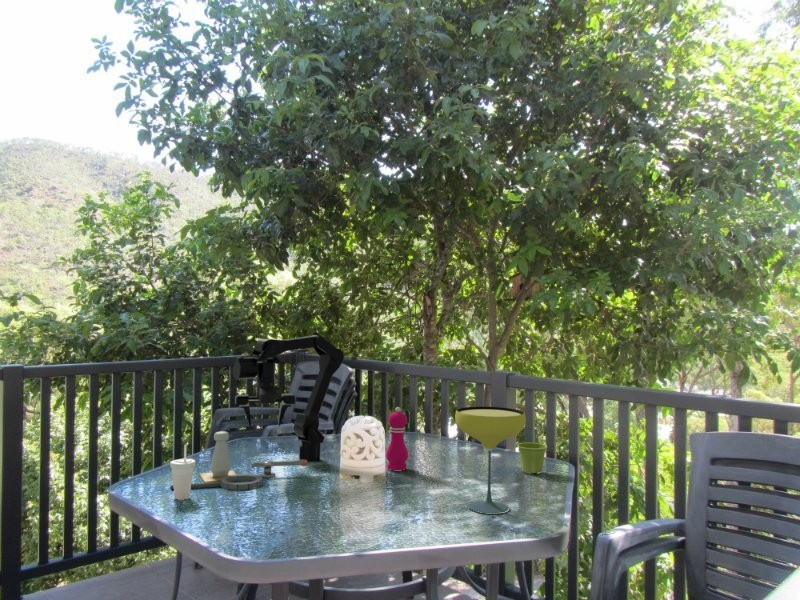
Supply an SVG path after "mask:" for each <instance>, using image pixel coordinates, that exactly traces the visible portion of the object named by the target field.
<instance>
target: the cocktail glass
mask: <svg viewBox="0 0 800 600" xmlns="http://www.w3.org/2000/svg"><path fill="white" fill-rule="evenodd" d="M454 421H455V425H456V427H458V428H459V429H460V431H462V432H463V433H465V434H466V435H468V436H469V437H472V438H473V439H475V440H477V441H478V442H480V444H482V446H483V448H484V449H485V450H486V451H488V454H487V455H488V458H487V459H488V467H487V469H488V470H487V471H488V473H487V492H486V494H487V495H486V499H485V500H479V501H473V503H472V502H470V503H469V504H468V505H469V506H468V505H467V508H468V507H469V508H470V509H472V510H474V511H477V512H478V511H479V512H482V513H499V512H505V511H507V510H508V508H509V507H510V506H509V505H507V504H506V505H507V506H506V505H505V503H502V502H499V501H493V499H492V487H491V484H492V483H491V474H492V472H491V470H492V467H491V465H492V464H491V462H492V460H491V459H492V451H493V450H495V448H496V447H497V446H498V445H499V444H500V443H501V442H504V441H505V440H507V439H510V438H512V437H515V436H516V435H518V434H520V432H522V431H523V430H524V429H525V426H526V421H527V418H526V413H525V412H524V411H523V410H520V409H516V408H510V407H500V406H466V407H460V408H457V409H456V411H455V420H454ZM508 506H509V507H508ZM469 508H468V509H469ZM470 509H469V510H470Z"/></svg>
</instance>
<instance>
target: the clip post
mask: <svg viewBox="0 0 800 600" xmlns="http://www.w3.org/2000/svg"><path fill="white" fill-rule="evenodd" d="M258 476H261V477H262V479H270V478H274V477H276V473H275V472H272V467H263V472H260V473H259V474H258Z"/></svg>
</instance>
